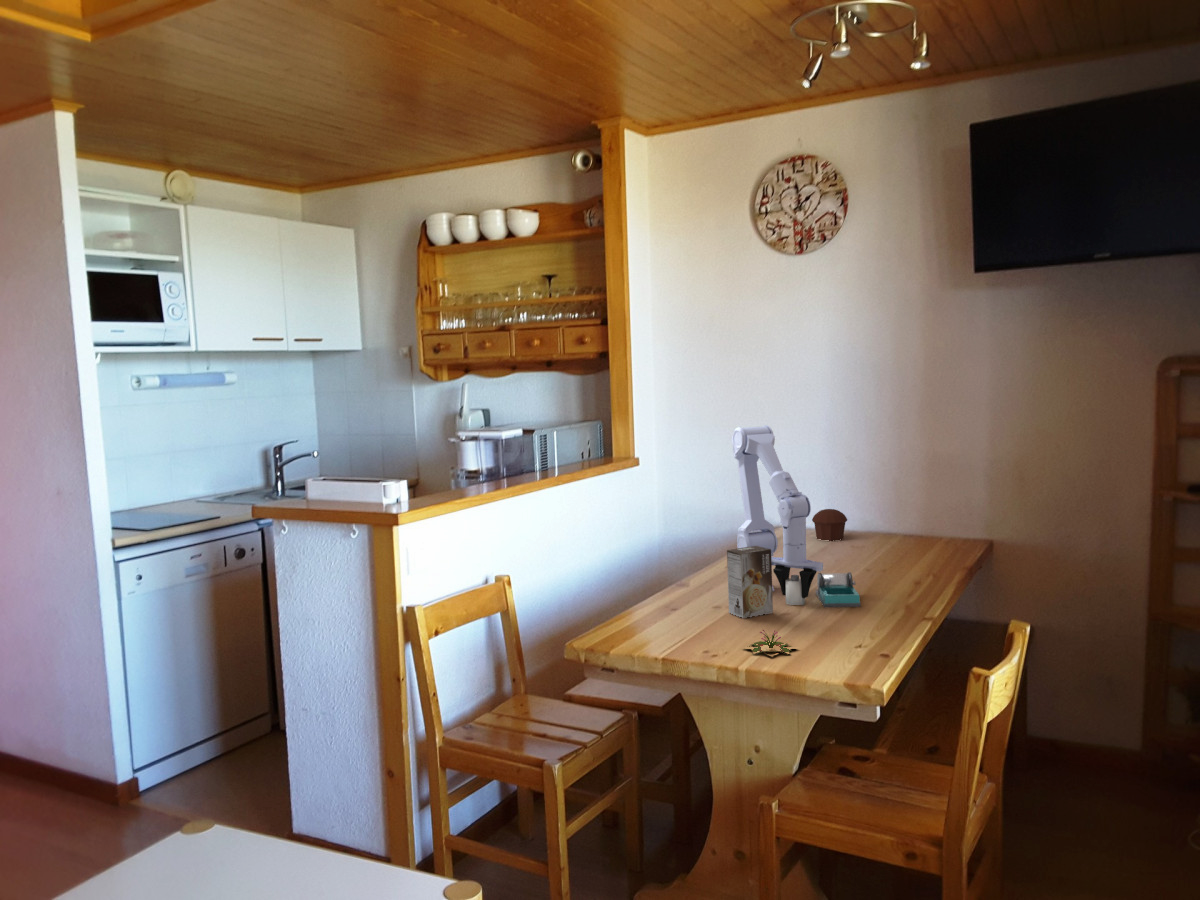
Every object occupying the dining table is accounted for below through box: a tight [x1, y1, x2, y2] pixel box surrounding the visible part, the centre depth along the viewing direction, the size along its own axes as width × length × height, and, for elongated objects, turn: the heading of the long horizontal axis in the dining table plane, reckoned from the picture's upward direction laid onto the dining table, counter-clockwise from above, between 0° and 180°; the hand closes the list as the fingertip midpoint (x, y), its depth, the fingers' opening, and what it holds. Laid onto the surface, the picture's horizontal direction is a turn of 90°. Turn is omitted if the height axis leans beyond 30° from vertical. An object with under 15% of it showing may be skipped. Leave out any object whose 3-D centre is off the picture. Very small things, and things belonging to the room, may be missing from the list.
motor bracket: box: [815, 571, 862, 608], centre depth 246 cm, size 10×14×6 cm
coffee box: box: [726, 546, 774, 619], centre depth 236 cm, size 9×6×16 cm
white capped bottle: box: [785, 574, 806, 606], centre depth 244 cm, size 5×5×7 cm
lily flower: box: [749, 629, 792, 654], centre depth 207 cm, size 12×12×5 cm
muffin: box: [811, 508, 848, 542], centre depth 326 cm, size 12×11×10 cm
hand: (795, 596), depth 245 cm, fingers closed on white capped bottle, 5 cm apart
